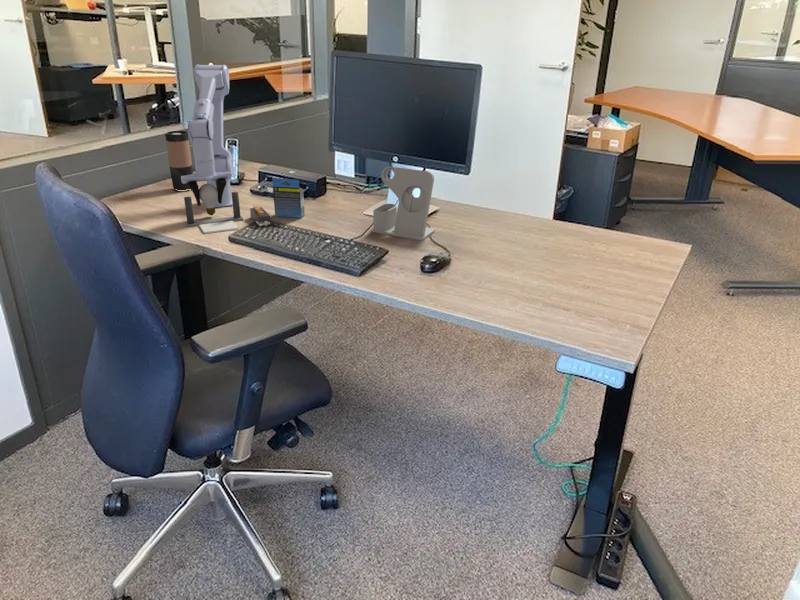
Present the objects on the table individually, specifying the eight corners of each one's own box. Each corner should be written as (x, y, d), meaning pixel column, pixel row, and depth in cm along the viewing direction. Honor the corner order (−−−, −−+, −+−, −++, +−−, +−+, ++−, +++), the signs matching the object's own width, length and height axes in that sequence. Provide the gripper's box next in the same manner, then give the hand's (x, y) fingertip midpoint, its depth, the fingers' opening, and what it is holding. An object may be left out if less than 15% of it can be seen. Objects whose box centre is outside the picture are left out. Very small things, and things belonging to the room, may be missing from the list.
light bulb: (209, 219, 192) (204, 187, 188) (197, 216, 196) (192, 184, 191) (225, 214, 197) (220, 183, 192) (213, 211, 200) (208, 180, 195)
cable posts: (185, 224, 189) (181, 196, 186) (241, 217, 196) (238, 190, 193) (186, 227, 187) (183, 199, 183) (243, 220, 194) (240, 193, 190)
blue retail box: (305, 215, 200) (303, 177, 195) (301, 218, 196) (299, 180, 191) (278, 213, 201) (276, 175, 196) (274, 216, 198) (271, 178, 193)
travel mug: (199, 189, 226) (192, 132, 217) (179, 193, 221) (171, 135, 212) (188, 185, 231) (181, 130, 222) (168, 189, 225) (160, 132, 217)
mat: (199, 226, 188) (199, 224, 188) (232, 222, 192) (232, 220, 192) (204, 233, 182) (204, 232, 182) (238, 229, 186) (238, 227, 186)
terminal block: (250, 217, 196) (249, 205, 195) (262, 216, 198) (261, 204, 196) (259, 226, 188) (258, 214, 187) (271, 225, 190) (270, 212, 188)
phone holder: (369, 231, 186) (369, 171, 179) (385, 222, 195) (385, 164, 187) (422, 240, 180) (424, 179, 172) (436, 230, 188) (438, 171, 180)
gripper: (181, 165, 182) (187, 209, 188) (231, 160, 188) (235, 204, 194) (177, 160, 188) (183, 203, 194) (226, 155, 194) (230, 198, 200)
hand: (209, 203), depth 194 cm, fingers closed on light bulb, 6 cm apart
